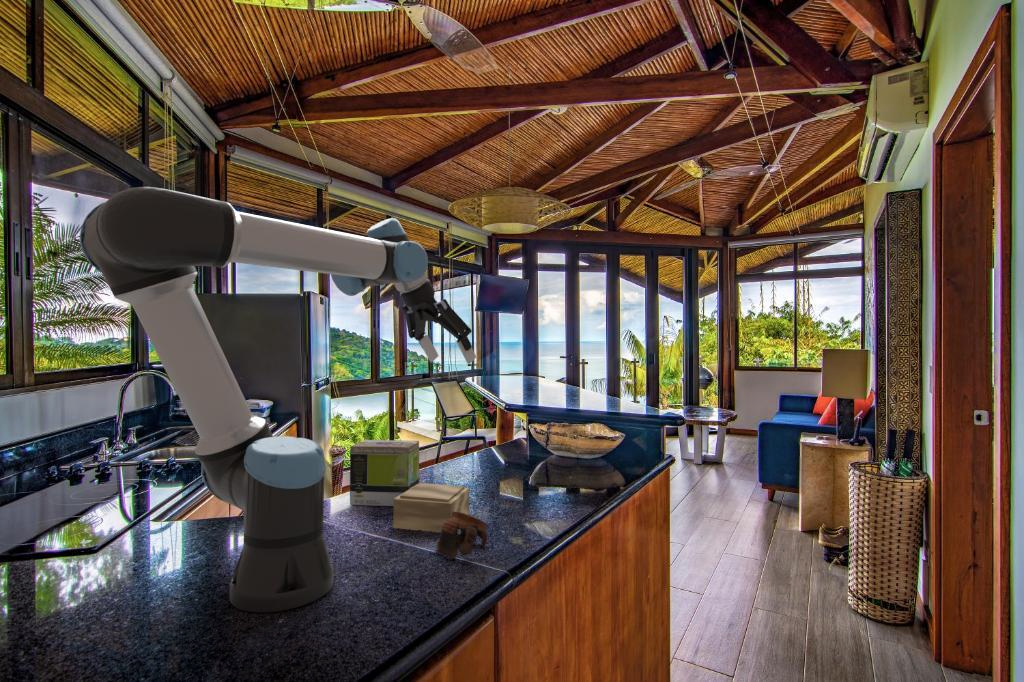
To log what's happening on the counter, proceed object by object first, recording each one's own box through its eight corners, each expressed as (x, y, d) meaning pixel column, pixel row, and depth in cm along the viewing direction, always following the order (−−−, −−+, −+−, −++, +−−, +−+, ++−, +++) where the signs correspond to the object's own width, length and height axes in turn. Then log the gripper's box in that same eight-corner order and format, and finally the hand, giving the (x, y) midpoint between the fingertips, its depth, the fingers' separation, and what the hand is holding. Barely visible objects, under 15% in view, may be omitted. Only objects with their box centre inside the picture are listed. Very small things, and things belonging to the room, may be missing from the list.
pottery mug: (426, 549, 102) (442, 507, 105) (468, 565, 104) (483, 524, 108) (444, 555, 91) (462, 509, 95) (491, 573, 94) (506, 527, 97)
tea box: (419, 496, 135) (420, 439, 135) (408, 508, 125) (409, 447, 125) (363, 494, 137) (364, 438, 137) (348, 505, 127) (349, 445, 127)
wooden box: (450, 534, 109) (451, 501, 109) (393, 529, 112) (393, 496, 112) (469, 515, 122) (469, 485, 122) (417, 511, 124) (417, 481, 124)
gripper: (460, 272, 113) (498, 351, 122) (391, 280, 129) (429, 350, 139) (439, 290, 108) (479, 370, 118) (370, 296, 125) (410, 366, 134)
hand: (452, 359), depth 128 cm, fingers open, 13 cm apart
